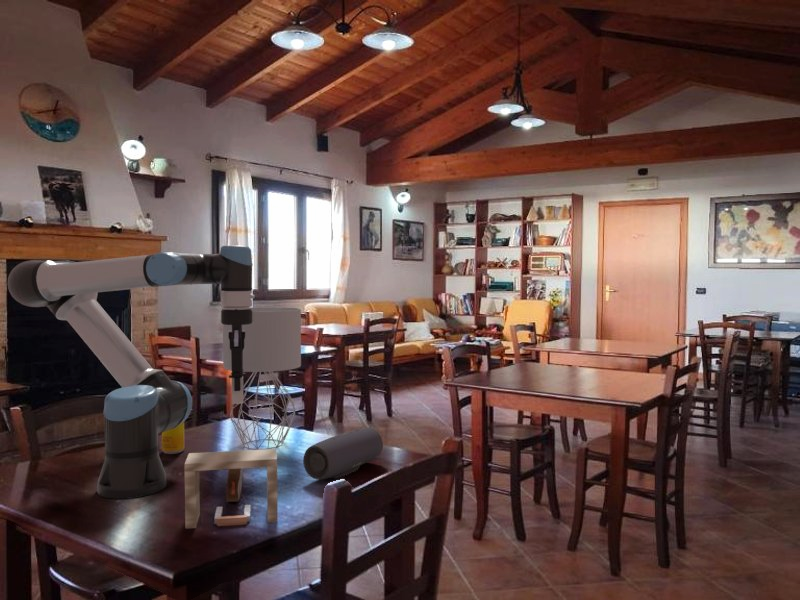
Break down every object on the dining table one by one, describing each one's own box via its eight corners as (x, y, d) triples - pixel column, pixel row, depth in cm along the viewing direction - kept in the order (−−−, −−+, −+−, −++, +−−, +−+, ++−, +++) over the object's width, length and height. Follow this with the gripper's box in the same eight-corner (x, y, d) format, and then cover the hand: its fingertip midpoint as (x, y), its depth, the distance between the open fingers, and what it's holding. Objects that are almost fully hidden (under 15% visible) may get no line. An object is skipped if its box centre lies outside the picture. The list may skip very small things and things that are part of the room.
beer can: (158, 451, 189) (157, 398, 189) (178, 447, 194) (178, 396, 193) (167, 455, 185) (166, 402, 184) (188, 451, 189) (187, 399, 188)
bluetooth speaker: (356, 459, 182) (356, 423, 181) (384, 464, 177) (384, 427, 176) (301, 481, 163) (300, 440, 162) (331, 488, 158) (331, 446, 157)
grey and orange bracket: (214, 526, 134) (213, 519, 134) (216, 512, 141) (216, 505, 141) (249, 524, 135) (249, 516, 135) (250, 510, 143) (250, 503, 143)
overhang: (185, 528, 132) (184, 464, 132) (189, 514, 140) (189, 453, 140) (277, 522, 136) (277, 459, 136) (276, 508, 144) (276, 448, 143)
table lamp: (211, 443, 199) (209, 309, 197) (277, 431, 213) (276, 306, 211) (245, 459, 181) (244, 312, 180) (315, 445, 196) (315, 309, 194)
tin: (231, 486, 159) (231, 451, 159) (245, 485, 160) (245, 450, 159) (225, 508, 144) (224, 469, 144) (240, 507, 145) (239, 469, 144)
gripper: (251, 309, 159) (252, 407, 160) (252, 306, 172) (253, 397, 173) (219, 310, 157) (220, 409, 158) (222, 306, 171) (223, 398, 172)
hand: (237, 402), depth 166 cm, fingers closed
